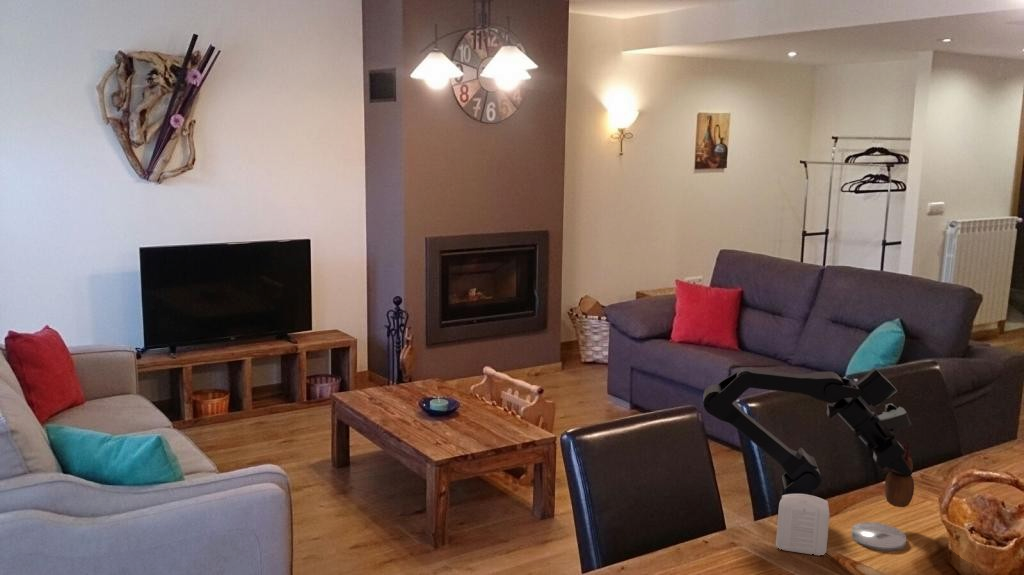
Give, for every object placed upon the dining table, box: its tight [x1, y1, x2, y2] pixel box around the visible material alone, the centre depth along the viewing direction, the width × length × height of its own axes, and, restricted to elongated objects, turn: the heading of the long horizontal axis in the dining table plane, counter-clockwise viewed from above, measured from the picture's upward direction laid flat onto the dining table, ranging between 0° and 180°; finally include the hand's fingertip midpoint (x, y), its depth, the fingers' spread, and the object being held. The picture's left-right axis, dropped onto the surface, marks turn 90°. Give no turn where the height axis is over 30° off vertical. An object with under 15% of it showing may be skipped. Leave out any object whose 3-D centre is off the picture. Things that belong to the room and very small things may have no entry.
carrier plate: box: [851, 521, 907, 552], centre depth 197 cm, size 11×11×2 cm
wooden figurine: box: [884, 442, 915, 508], centre depth 201 cm, size 7×6×15 cm
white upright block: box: [775, 494, 830, 556], centre depth 190 cm, size 10×4×12 cm, turn 73°
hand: (907, 470), depth 201 cm, fingers closed on wooden figurine, 5 cm apart
